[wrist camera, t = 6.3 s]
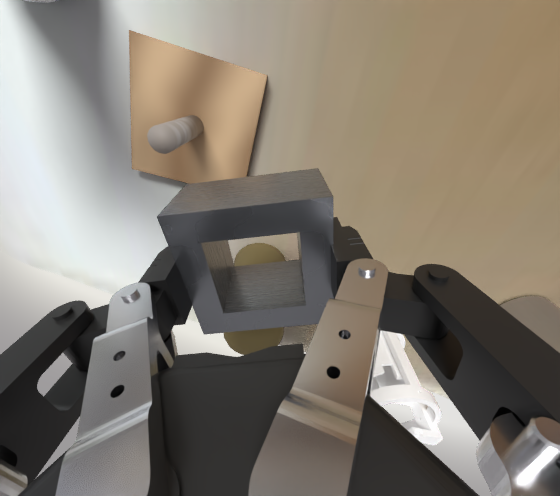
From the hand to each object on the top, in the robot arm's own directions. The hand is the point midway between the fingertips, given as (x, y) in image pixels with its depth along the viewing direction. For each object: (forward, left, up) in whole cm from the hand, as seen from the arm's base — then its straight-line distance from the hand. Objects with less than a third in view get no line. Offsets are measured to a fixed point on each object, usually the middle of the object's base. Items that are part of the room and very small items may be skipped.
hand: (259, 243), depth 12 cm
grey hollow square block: (0, 0, -1) cm, 1 cm away
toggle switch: (+7, -2, -14) cm, 16 cm away
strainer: (-15, +14, -14) cm, 25 cm away
